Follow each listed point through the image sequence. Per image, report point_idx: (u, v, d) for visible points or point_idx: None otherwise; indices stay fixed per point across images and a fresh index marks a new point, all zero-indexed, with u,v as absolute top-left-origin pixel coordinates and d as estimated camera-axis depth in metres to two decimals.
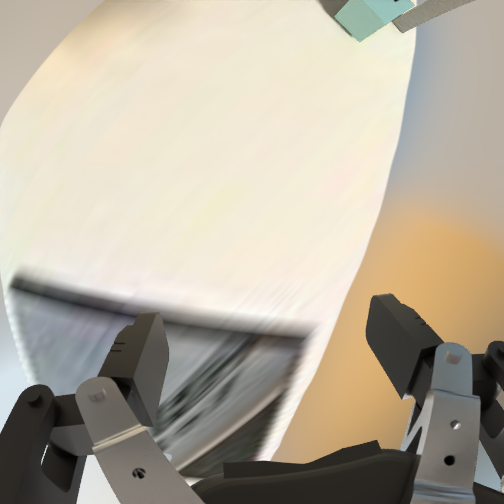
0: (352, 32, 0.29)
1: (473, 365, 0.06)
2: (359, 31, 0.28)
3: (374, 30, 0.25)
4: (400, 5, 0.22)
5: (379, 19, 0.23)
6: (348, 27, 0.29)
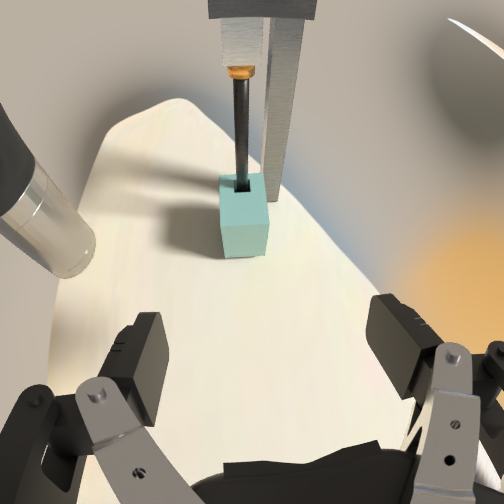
0: (251, 254, 0.37)
1: (473, 365, 0.06)
2: (256, 248, 0.36)
3: (265, 237, 0.33)
4: (256, 189, 0.32)
5: (260, 226, 0.31)
6: (244, 254, 0.37)
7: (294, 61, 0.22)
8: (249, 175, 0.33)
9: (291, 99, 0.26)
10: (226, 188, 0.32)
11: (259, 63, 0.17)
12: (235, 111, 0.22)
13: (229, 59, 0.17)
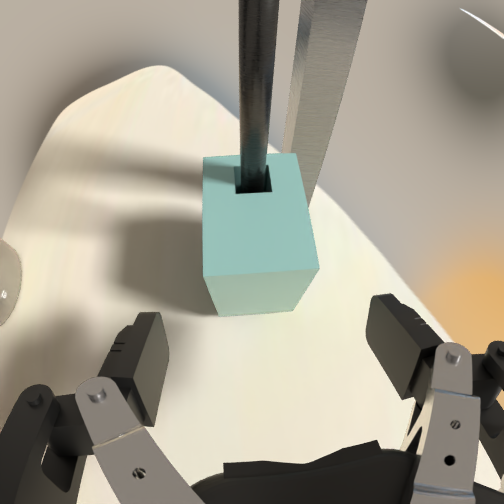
0: (268, 311, 0.19)
1: (473, 365, 0.06)
2: (279, 304, 0.18)
3: (303, 288, 0.15)
4: (284, 186, 0.14)
5: (297, 273, 0.13)
6: (255, 311, 0.19)
7: None
8: (267, 157, 0.15)
9: None
10: (218, 184, 0.14)
11: None
12: None
13: None
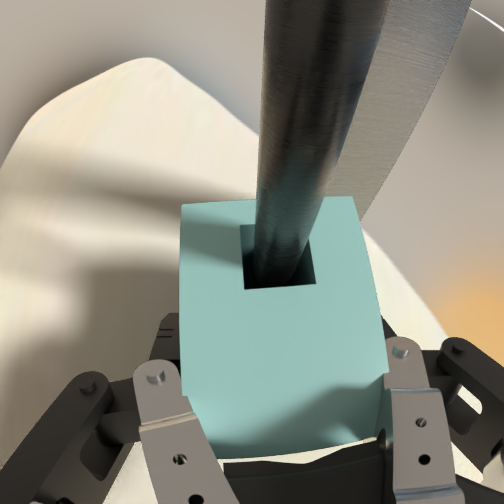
0: None
1: (426, 361, 0.07)
2: None
3: None
4: (338, 270, 0.07)
5: (355, 437, 0.06)
6: None
7: None
8: None
9: None
10: (209, 266, 0.07)
11: None
12: None
13: None
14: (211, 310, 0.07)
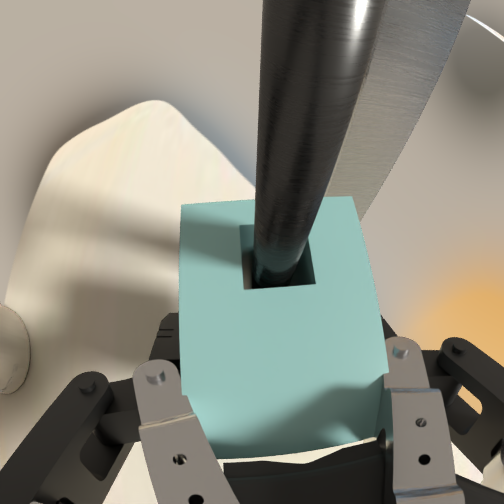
0: None
1: (426, 361, 0.07)
2: None
3: None
4: (338, 270, 0.07)
5: (355, 437, 0.06)
6: None
7: None
8: None
9: (417, 112, 0.08)
10: (209, 266, 0.07)
11: None
12: (266, 167, 0.04)
13: None
14: (211, 310, 0.07)
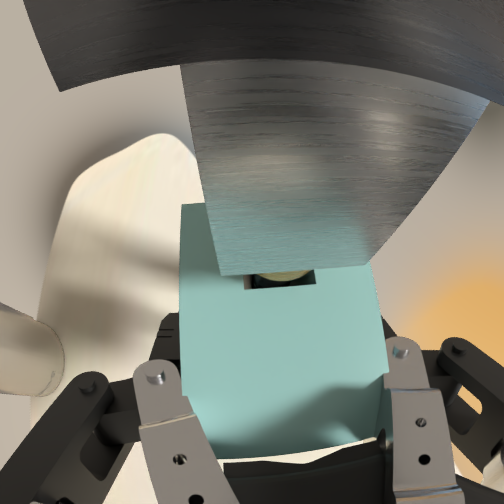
0: None
1: (426, 361, 0.07)
2: None
3: None
4: (338, 270, 0.07)
5: (355, 437, 0.06)
6: None
7: None
8: None
9: None
10: (209, 266, 0.07)
11: (362, 262, 0.05)
12: None
13: (248, 261, 0.05)
14: (211, 310, 0.07)
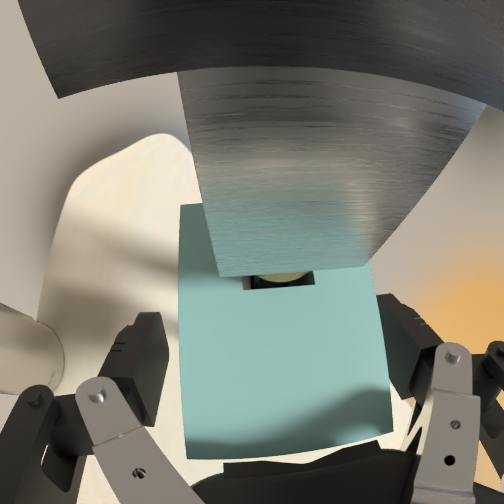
0: None
1: (473, 365, 0.06)
2: None
3: None
4: (337, 271, 0.07)
5: (354, 438, 0.06)
6: None
7: None
8: None
9: None
10: (208, 267, 0.07)
11: (360, 264, 0.05)
12: None
13: (246, 262, 0.05)
14: (210, 311, 0.07)
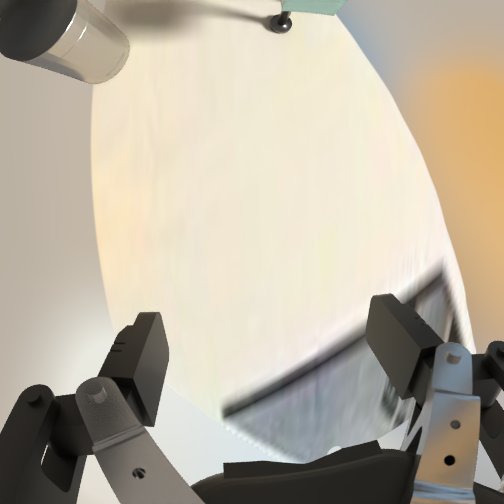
0: (318, 11, 0.20)
1: (473, 365, 0.06)
2: (329, 5, 0.18)
3: None
4: None
5: None
6: (309, 9, 0.19)
7: None
8: None
9: None
10: None
11: None
12: None
13: None
14: None
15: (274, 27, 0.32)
